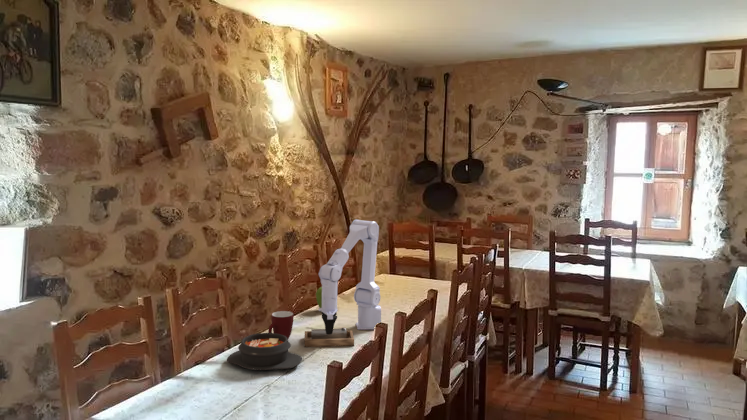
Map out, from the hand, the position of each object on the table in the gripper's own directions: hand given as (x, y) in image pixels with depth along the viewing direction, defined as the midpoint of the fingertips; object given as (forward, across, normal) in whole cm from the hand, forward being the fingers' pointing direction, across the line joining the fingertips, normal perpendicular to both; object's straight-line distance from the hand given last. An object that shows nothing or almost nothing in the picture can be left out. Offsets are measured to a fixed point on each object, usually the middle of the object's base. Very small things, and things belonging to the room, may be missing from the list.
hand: (328, 332), depth 199 cm
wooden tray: (+3, 0, 0) cm, 3 cm away
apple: (+4, -40, 0) cm, 40 cm away
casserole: (+4, +20, -22) cm, 30 cm away
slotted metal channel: (+3, 0, 0) cm, 3 cm away
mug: (+4, -2, -18) cm, 18 cm away
